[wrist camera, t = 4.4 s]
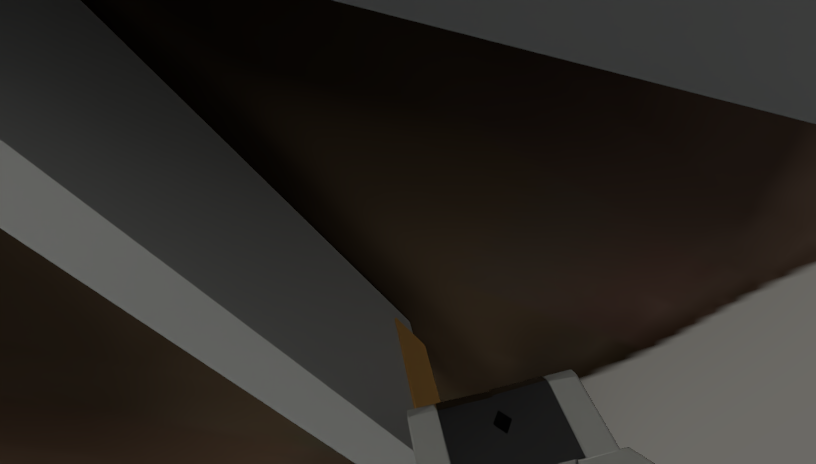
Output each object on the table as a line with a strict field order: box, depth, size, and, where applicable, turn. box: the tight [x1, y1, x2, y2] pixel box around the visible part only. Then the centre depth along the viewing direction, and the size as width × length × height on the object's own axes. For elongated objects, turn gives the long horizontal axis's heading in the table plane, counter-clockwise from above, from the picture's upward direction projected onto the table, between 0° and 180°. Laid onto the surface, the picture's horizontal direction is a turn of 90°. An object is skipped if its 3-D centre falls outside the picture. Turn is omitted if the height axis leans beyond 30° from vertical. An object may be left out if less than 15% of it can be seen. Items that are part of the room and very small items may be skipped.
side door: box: [0, 0, 440, 464], centre depth 10 cm, size 1×14×5 cm, turn 35°
